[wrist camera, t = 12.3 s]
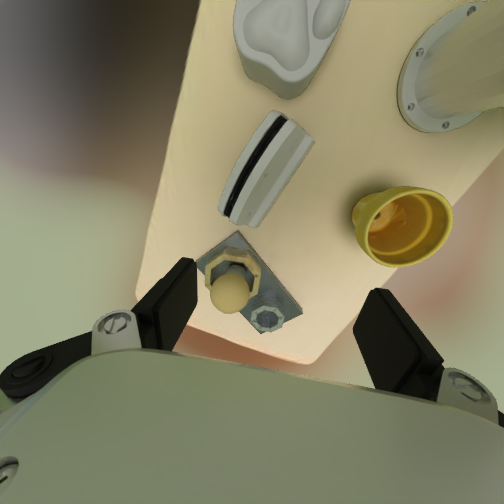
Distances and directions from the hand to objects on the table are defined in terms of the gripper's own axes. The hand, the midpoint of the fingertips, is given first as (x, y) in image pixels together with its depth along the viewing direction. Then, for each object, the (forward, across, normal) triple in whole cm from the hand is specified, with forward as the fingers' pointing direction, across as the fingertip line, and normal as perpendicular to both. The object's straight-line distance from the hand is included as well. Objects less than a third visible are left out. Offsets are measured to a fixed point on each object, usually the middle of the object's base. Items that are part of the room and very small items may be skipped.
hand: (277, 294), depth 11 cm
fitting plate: (+26, +3, +19) cm, 32 cm away
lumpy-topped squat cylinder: (+27, +2, -20) cm, 34 cm away
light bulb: (+24, +6, +15) cm, 29 cm away
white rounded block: (+27, +3, -3) cm, 27 cm away
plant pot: (+27, -16, +1) cm, 31 cm away
